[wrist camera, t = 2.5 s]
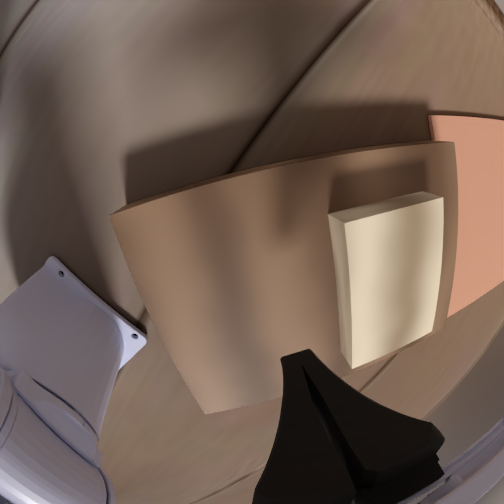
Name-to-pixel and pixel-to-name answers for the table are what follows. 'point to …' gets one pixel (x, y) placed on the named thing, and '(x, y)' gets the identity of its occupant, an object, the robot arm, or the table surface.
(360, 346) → the birch tile
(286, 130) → the table surface
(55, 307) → the robot arm
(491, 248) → the terracotta mat
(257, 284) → the walnut board
